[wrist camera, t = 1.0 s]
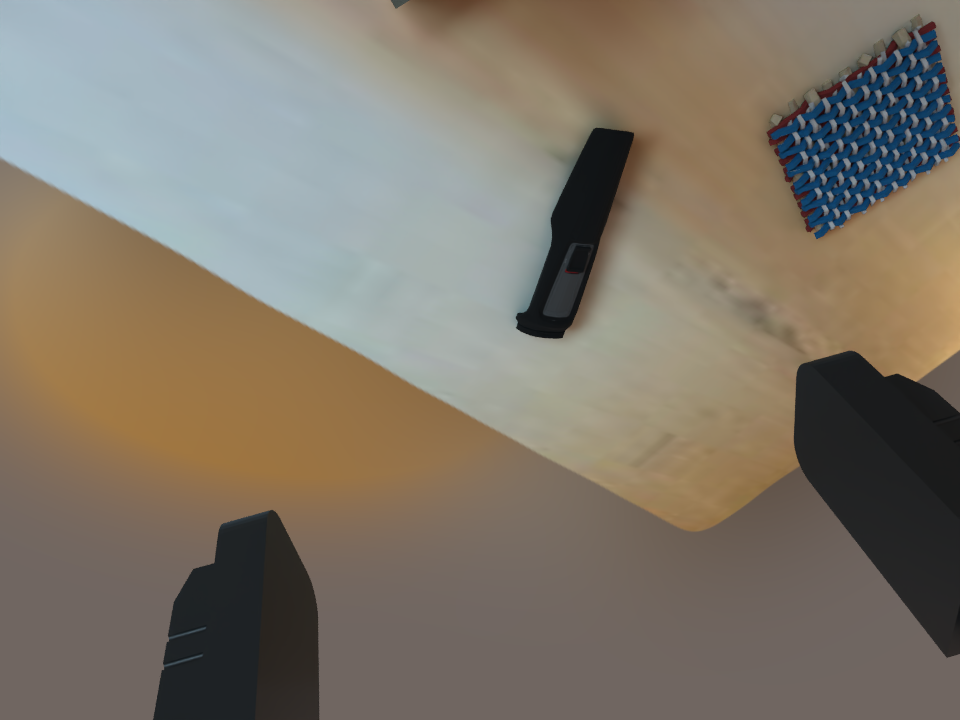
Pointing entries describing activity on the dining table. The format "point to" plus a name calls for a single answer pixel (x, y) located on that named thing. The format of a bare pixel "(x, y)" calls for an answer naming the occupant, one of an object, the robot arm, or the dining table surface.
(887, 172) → the woven mat
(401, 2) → the vise
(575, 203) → the electric trimmer
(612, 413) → the dining table surface
